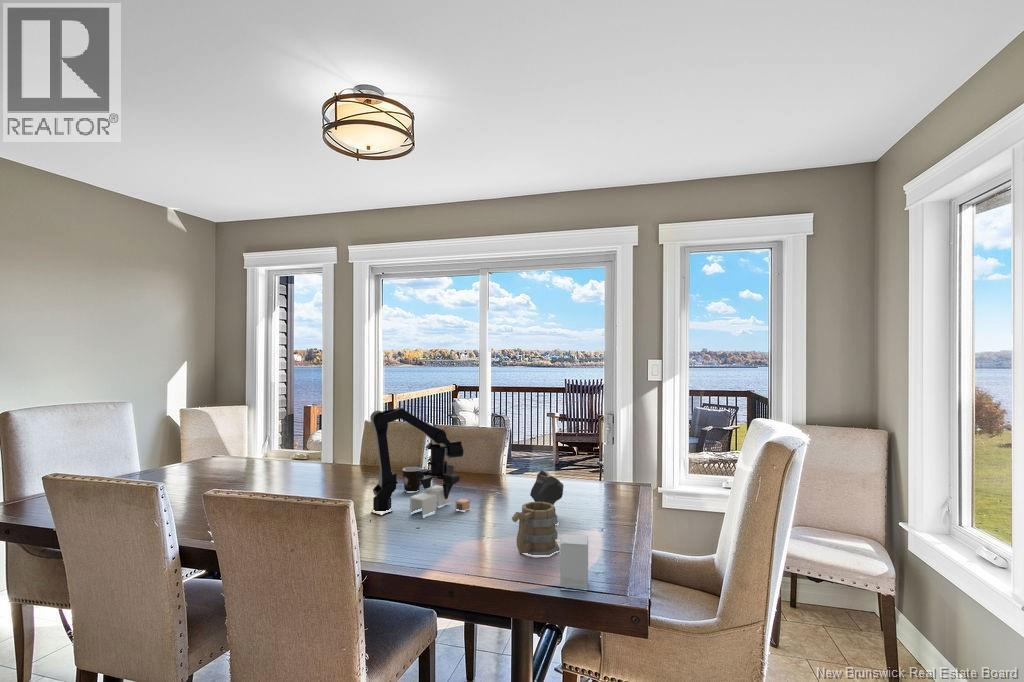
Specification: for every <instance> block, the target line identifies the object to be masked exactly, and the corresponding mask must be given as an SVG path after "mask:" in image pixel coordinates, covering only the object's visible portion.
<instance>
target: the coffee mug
mask: <svg viewBox="0 0 1024 682" xmlns="http://www.w3.org/2000/svg"><path fill="white" fill-rule="evenodd" d="M420 470H423V469H422V467H419V466H407V467H403V468H402V479H403V487H404V491H405V490H406V491H417V490H419V491H420V490H421V489H420V487H421V485H422V483H421V482H420V481H419V478H416V474H417V472H418V471H420Z"/></svg>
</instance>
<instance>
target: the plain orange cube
mask: <svg viewBox="0 0 1024 682" xmlns="http://www.w3.org/2000/svg"><path fill="white" fill-rule="evenodd" d="M470 501H471V500H470V499H465V498H460V499H458V500H455V510H456V509H459V510H466V509H469V508H471V504H470V503H471V502H470Z"/></svg>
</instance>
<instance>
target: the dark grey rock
mask: <svg viewBox="0 0 1024 682" xmlns="http://www.w3.org/2000/svg"><path fill="white" fill-rule="evenodd" d="M563 495H564V484H563V482H561V481H560V479H558V477H557V478H556V477H555V476H553V475H551V474H549V472H548V471H547V470H545V469H541V470H540V471H539V472H538V473H537V475H536V480H535V482H534V484H533V486H532V488H531V490H530V495H529V496H530V497H531V498H532V499H533V502H546V503H550V504H553V505H554V506H555V504H556V502H558V501H560V500H561V499H562V498H563ZM558 522H559V521H558V520H557V523H558Z"/></svg>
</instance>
